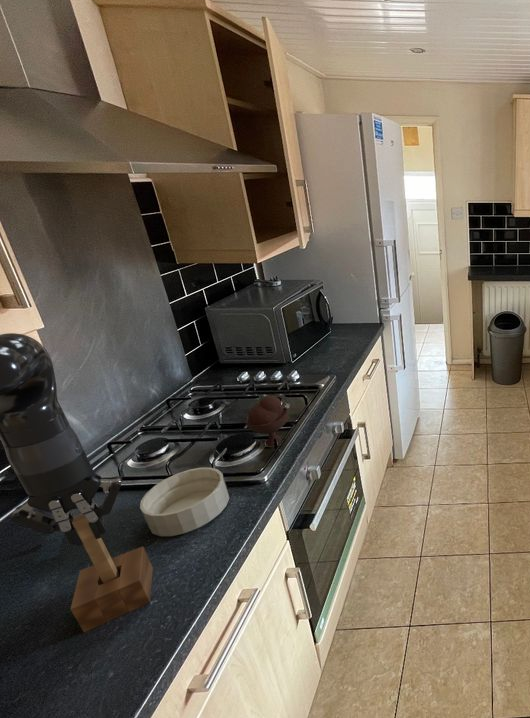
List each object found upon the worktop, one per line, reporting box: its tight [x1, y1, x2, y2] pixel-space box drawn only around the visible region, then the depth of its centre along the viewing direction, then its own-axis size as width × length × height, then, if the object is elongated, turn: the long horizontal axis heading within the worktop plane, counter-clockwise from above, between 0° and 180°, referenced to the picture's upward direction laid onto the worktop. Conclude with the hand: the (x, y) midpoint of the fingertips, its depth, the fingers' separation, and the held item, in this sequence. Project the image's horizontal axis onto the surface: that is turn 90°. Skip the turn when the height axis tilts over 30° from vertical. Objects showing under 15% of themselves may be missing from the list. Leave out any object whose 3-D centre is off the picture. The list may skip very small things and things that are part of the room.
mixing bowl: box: [139, 467, 230, 537], centre depth 96 cm, size 15×15×6 cm
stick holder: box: [70, 545, 154, 633], centre depth 77 cm, size 9×9×6 cm
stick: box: [72, 512, 120, 584], centre depth 74 cm, size 2×2×20 cm
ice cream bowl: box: [244, 395, 289, 446], centre depth 119 cm, size 11×11×15 cm
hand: (90, 538), depth 72 cm, fingers closed on stick, 2 cm apart
